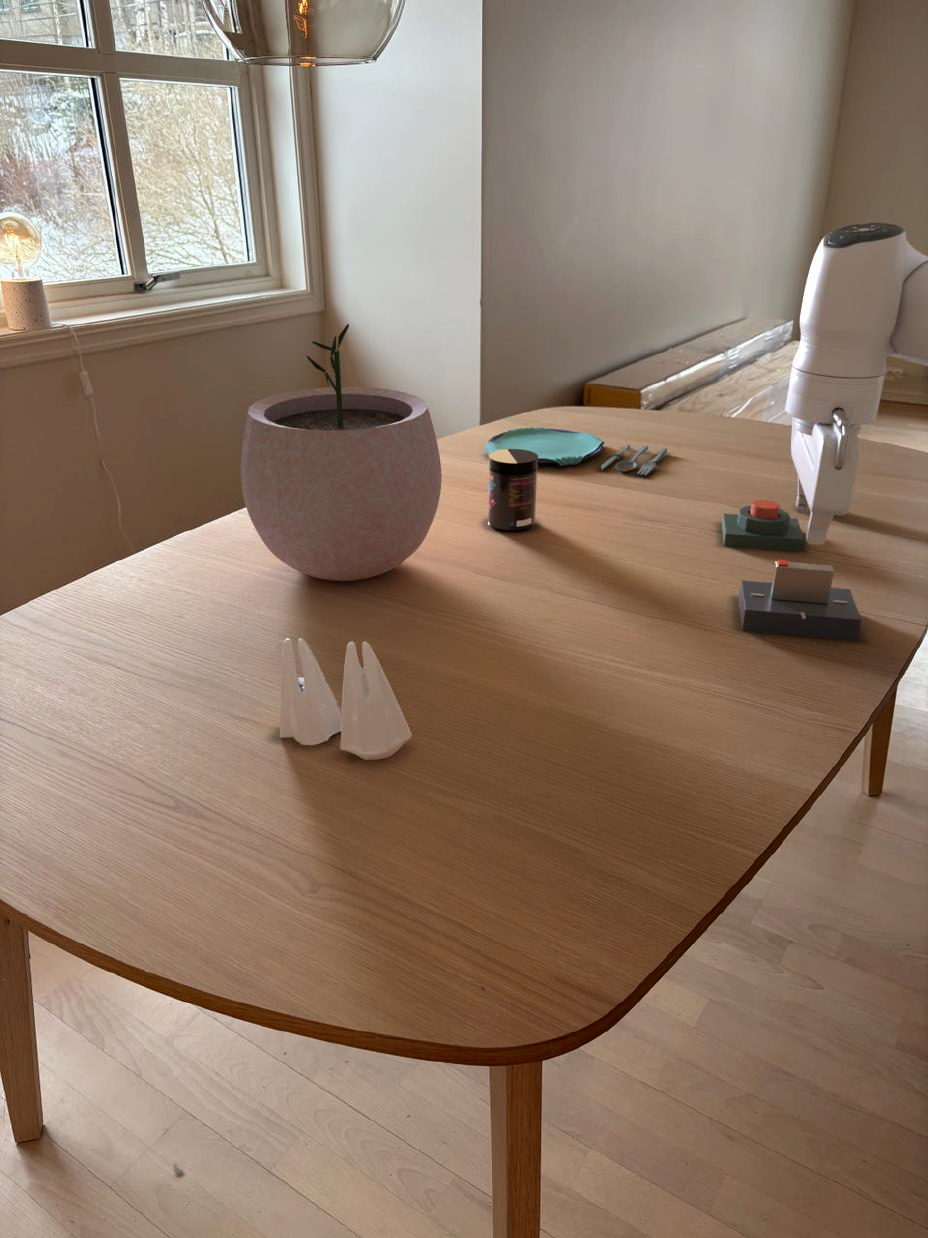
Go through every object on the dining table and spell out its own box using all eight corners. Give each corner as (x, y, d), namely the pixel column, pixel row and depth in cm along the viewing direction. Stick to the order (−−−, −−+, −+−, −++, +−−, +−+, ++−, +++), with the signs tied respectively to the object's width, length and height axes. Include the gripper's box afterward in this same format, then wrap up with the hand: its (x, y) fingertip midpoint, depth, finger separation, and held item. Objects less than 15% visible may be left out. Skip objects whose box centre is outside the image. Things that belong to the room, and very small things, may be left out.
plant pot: (329, 523, 135) (315, 303, 122) (476, 556, 124) (478, 319, 111) (210, 583, 116) (178, 331, 103) (370, 628, 106) (358, 353, 92)
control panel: (843, 608, 111) (848, 583, 109) (857, 649, 102) (863, 622, 100) (737, 599, 113) (740, 575, 111) (742, 638, 104) (746, 612, 103)
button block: (795, 533, 132) (799, 506, 130) (801, 555, 125) (806, 526, 123) (721, 527, 134) (724, 501, 132) (723, 549, 127) (727, 520, 125)
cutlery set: (514, 433, 178) (515, 421, 177) (672, 454, 166) (674, 441, 165) (468, 461, 162) (468, 448, 161) (639, 487, 150) (641, 473, 149)
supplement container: (514, 515, 138) (516, 445, 134) (545, 529, 133) (548, 457, 129) (477, 525, 134) (478, 454, 130) (508, 540, 130) (510, 466, 125)
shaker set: (415, 752, 84) (412, 641, 79) (391, 777, 81) (387, 663, 76) (303, 719, 89) (294, 613, 84) (276, 741, 86) (265, 632, 81)
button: (776, 512, 129) (778, 500, 128) (778, 521, 126) (780, 509, 125) (749, 510, 130) (750, 498, 129) (750, 519, 127) (752, 507, 126)
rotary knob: (825, 598, 106) (832, 563, 104) (827, 604, 105) (834, 568, 103) (770, 593, 107) (775, 558, 105) (771, 599, 106) (777, 564, 104)
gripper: (884, 426, 86) (855, 566, 93) (850, 378, 104) (827, 498, 110) (812, 421, 87) (787, 560, 94) (790, 375, 105) (771, 493, 112)
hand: (809, 526), depth 102 cm, fingers open, 8 cm apart
